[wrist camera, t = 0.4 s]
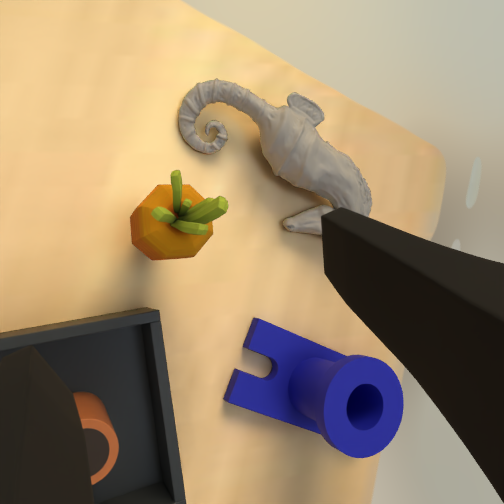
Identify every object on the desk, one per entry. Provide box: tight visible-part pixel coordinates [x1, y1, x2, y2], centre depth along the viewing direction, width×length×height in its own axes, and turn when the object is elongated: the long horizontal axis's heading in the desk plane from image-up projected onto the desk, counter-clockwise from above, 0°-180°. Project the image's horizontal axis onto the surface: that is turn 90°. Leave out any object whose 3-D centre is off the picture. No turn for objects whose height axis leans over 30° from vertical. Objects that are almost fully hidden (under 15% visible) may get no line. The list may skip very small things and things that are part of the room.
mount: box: [223, 318, 403, 458], centre depth 38 cm, size 15×8×9 cm, turn 67°
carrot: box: [130, 170, 228, 260], centre depth 30 cm, size 5×5×15 cm
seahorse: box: [179, 79, 372, 235], centre depth 40 cm, size 5×12×20 cm
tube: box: [73, 392, 119, 485], centre depth 30 cm, size 4×4×8 cm
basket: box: [0, 307, 186, 504], centre depth 32 cm, size 15×13×5 cm
